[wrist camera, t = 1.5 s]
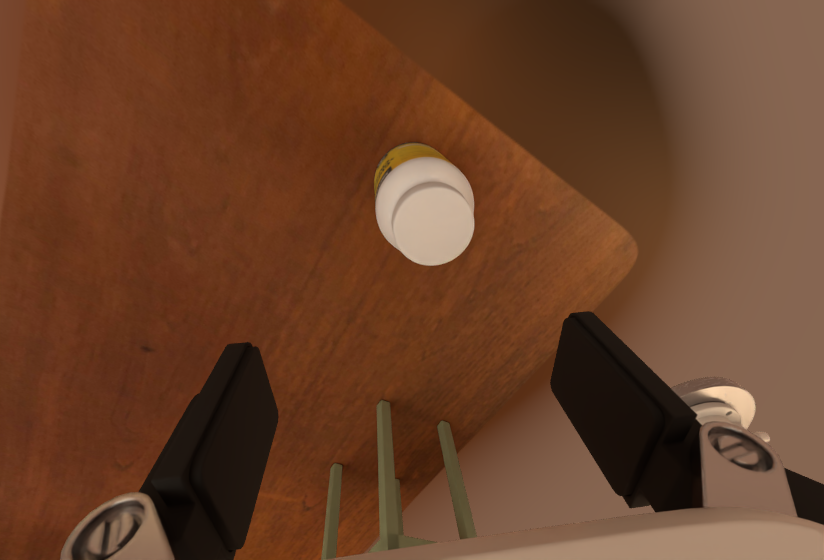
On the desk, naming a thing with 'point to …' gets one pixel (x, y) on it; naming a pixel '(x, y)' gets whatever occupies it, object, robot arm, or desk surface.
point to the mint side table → (397, 492)
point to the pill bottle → (423, 204)
